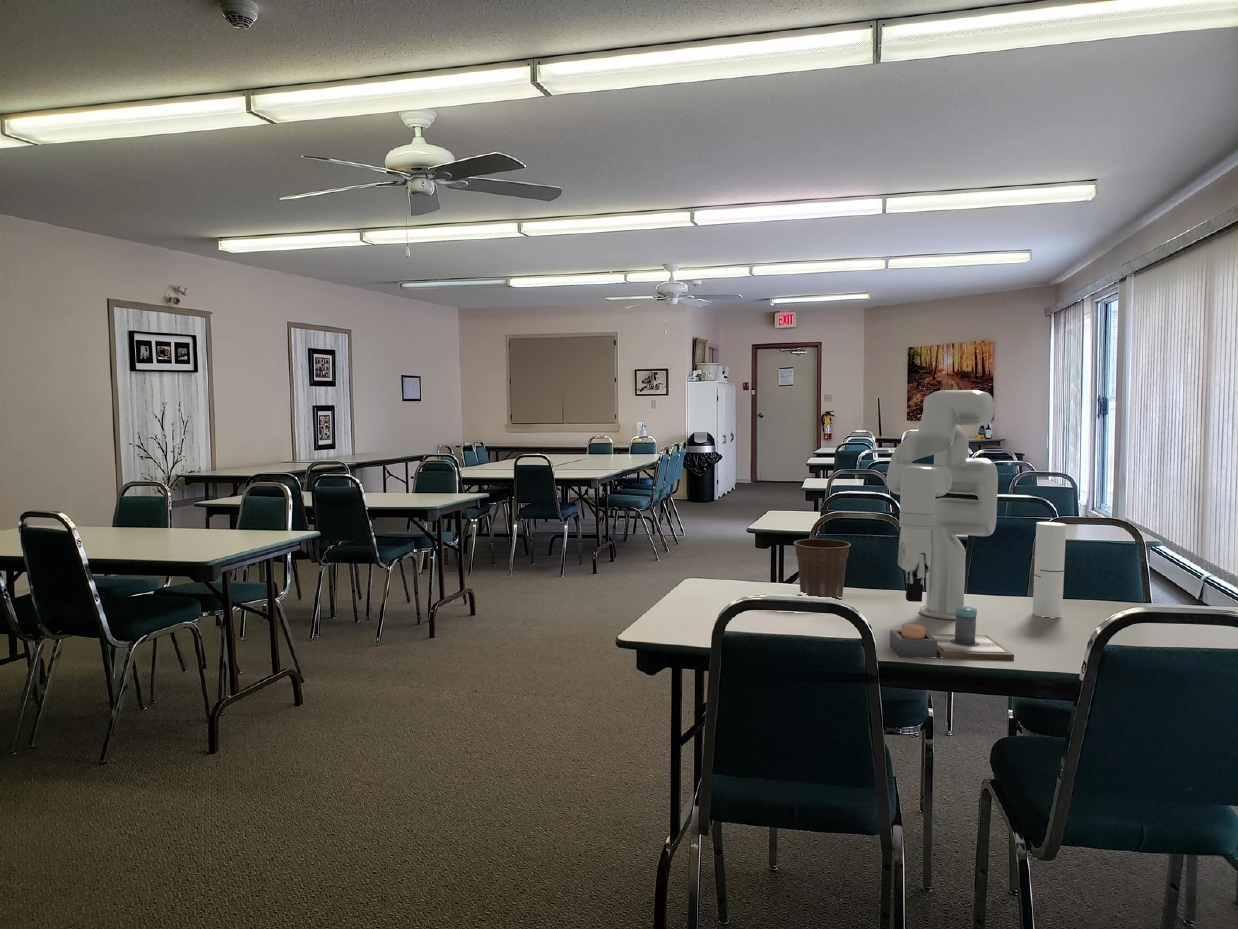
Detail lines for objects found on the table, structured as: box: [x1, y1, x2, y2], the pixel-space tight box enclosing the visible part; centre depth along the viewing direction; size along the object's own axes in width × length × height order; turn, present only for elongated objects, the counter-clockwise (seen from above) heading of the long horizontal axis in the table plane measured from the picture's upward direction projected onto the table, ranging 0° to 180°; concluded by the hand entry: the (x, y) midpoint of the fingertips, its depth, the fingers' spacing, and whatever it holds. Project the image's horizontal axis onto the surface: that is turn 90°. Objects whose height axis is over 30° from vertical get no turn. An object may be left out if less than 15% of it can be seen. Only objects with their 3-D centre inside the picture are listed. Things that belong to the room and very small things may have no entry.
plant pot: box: [793, 538, 852, 600], centre depth 246 cm, size 16×16×16 cm
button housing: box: [889, 629, 938, 658], centre depth 191 cm, size 8×8×4 cm
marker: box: [954, 605, 978, 645], centre depth 194 cm, size 5×5×8 cm
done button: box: [901, 623, 926, 639], centre depth 191 cm, size 5×5×4 cm
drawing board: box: [929, 633, 1015, 661], centre depth 195 cm, size 16×16×2 cm
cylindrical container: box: [1032, 521, 1067, 617], centre depth 227 cm, size 7×7×25 cm
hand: (913, 600), depth 190 cm, fingers closed
